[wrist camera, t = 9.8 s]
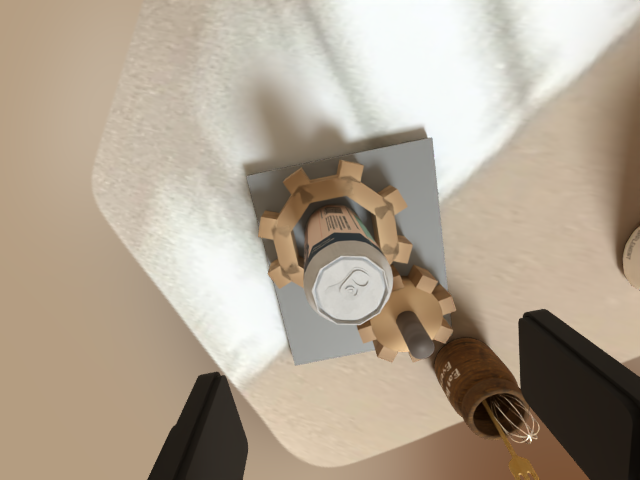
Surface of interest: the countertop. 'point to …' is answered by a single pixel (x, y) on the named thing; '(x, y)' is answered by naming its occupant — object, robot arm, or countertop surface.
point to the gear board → (412, 222)
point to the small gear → (410, 317)
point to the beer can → (344, 267)
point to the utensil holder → (485, 395)
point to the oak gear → (322, 189)
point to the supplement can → (632, 259)
